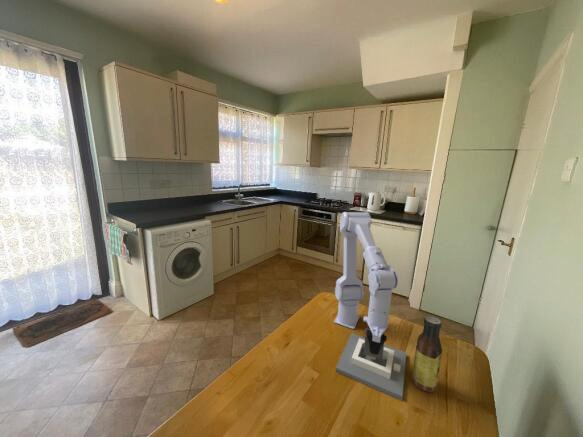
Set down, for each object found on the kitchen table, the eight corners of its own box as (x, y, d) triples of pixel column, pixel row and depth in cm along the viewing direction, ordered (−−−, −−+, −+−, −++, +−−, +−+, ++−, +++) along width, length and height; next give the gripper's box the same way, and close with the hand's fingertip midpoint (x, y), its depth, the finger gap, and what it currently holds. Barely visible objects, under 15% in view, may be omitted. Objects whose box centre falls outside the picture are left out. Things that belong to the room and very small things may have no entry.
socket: (351, 336, 86) (352, 328, 85) (405, 355, 77) (407, 346, 77) (335, 371, 70) (336, 361, 69) (401, 400, 62) (403, 390, 61)
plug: (364, 347, 76) (366, 327, 75) (381, 352, 74) (384, 332, 73) (362, 357, 72) (365, 336, 71) (381, 362, 70) (384, 341, 69)
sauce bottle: (440, 395, 63) (452, 330, 60) (415, 390, 65) (425, 326, 61) (431, 375, 70) (441, 315, 66) (408, 371, 71) (417, 311, 67)
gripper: (366, 293, 78) (362, 330, 81) (363, 317, 65) (358, 360, 67) (389, 298, 76) (384, 335, 78) (390, 324, 62) (385, 368, 65)
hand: (374, 347), depth 73 cm, fingers closed on plug, 4 cm apart
